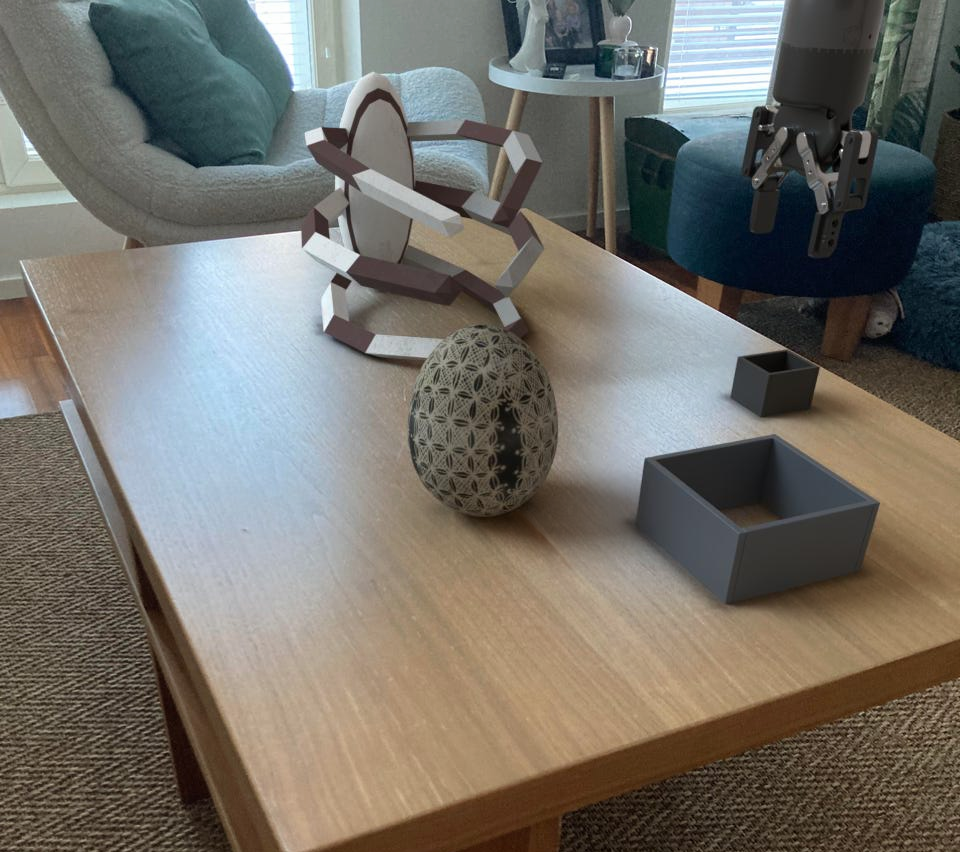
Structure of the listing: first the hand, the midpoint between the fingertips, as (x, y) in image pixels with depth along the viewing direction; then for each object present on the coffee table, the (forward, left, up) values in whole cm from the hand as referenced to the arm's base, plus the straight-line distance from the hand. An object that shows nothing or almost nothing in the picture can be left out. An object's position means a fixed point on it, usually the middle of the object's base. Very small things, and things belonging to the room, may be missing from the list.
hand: (788, 244), depth 94 cm
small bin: (0, +1, -16) cm, 16 cm away
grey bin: (+19, +23, -16) cm, 34 cm away
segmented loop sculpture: (+24, -33, -16) cm, 43 cm away
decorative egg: (+35, +9, -16) cm, 39 cm away
